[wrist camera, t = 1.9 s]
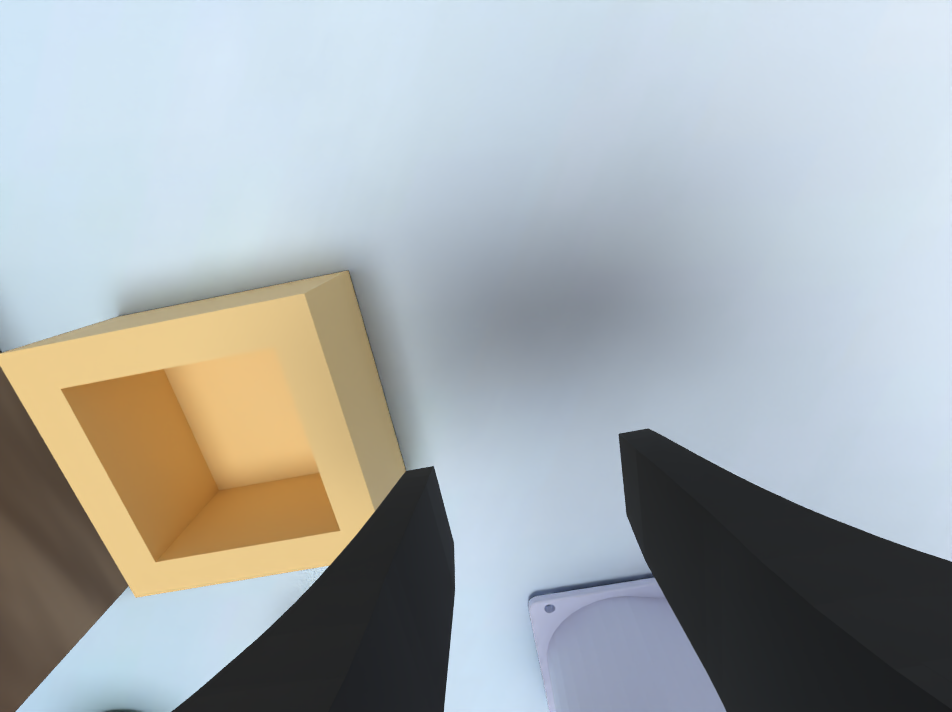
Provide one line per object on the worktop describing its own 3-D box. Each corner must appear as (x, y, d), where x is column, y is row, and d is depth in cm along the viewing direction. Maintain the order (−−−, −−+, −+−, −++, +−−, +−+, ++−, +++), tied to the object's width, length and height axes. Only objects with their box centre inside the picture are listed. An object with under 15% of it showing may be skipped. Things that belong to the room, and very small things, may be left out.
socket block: (348, 270, 16) (303, 293, 12) (407, 476, 19) (389, 555, 15) (117, 316, 16) (-6, 355, 12) (209, 511, 19) (135, 597, 15)
